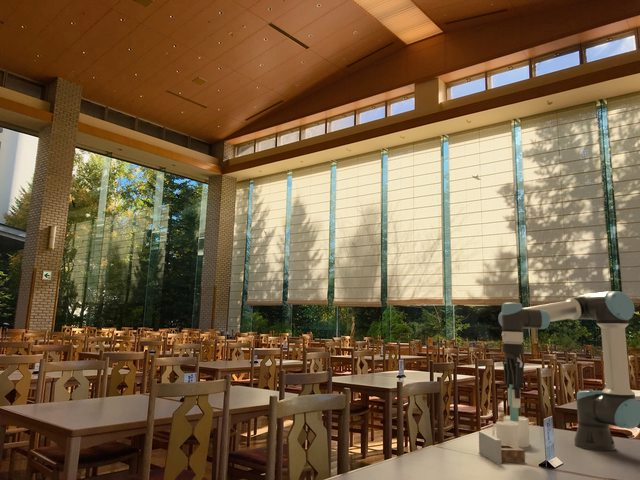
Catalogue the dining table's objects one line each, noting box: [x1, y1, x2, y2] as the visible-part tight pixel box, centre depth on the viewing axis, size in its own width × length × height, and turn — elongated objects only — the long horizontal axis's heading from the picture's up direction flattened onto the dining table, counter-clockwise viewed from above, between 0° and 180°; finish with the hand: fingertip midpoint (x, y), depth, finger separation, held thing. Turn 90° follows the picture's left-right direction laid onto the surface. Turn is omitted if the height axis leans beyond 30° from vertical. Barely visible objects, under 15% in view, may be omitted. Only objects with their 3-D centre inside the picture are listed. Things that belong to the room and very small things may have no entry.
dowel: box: [509, 384, 520, 421], centre depth 193 cm, size 3×3×13 cm
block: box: [501, 444, 526, 463], centre depth 191 cm, size 10×10×4 cm
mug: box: [503, 415, 531, 448], centre depth 219 cm, size 14×10×11 cm
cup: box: [492, 420, 518, 447], centre depth 208 cm, size 8×12×10 cm
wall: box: [478, 430, 503, 465], centre depth 191 cm, size 2×16×8 cm, turn 4°
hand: (514, 406), depth 192 cm, fingers closed on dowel, 3 cm apart
